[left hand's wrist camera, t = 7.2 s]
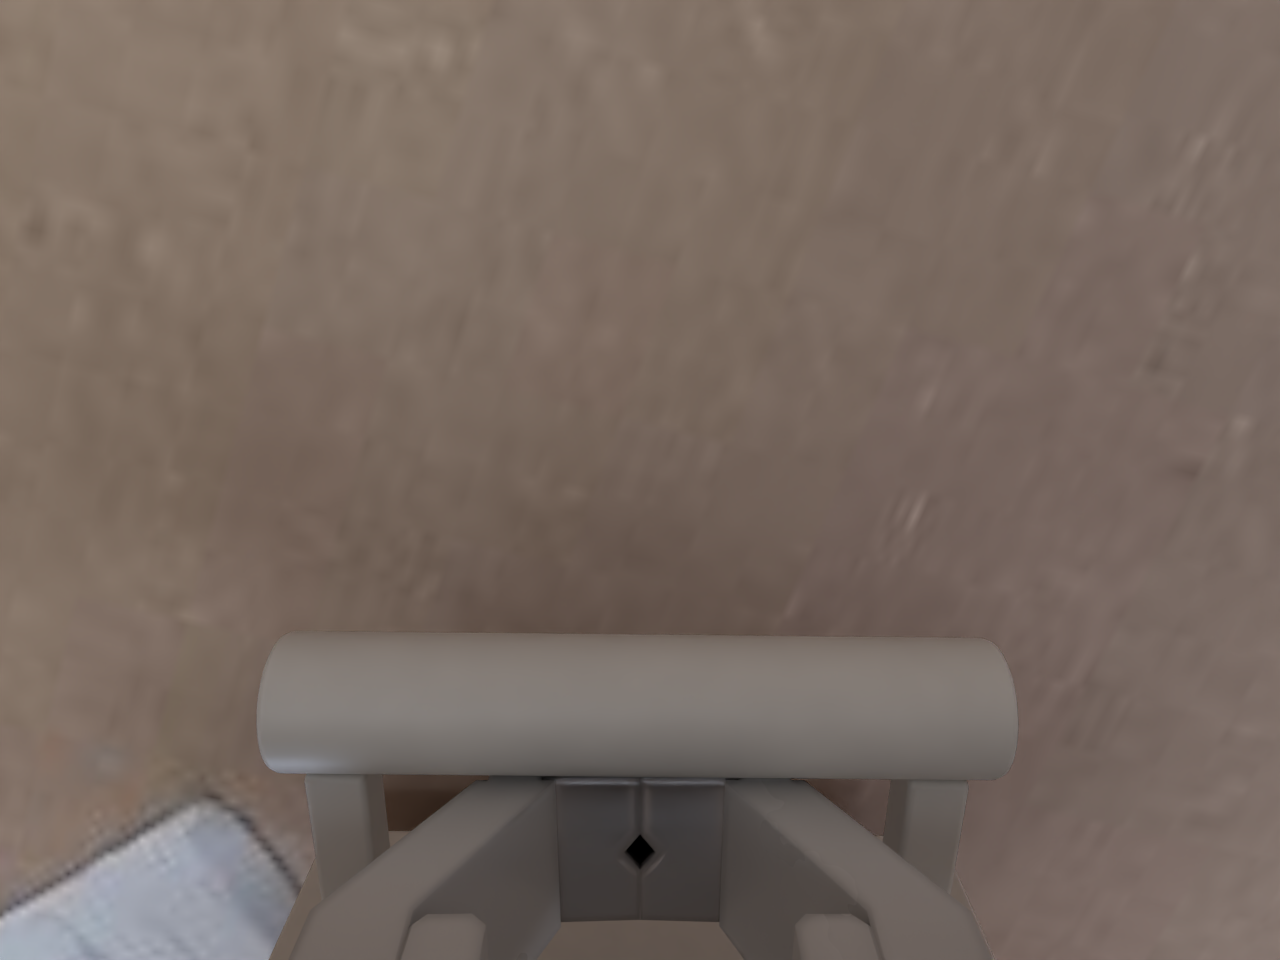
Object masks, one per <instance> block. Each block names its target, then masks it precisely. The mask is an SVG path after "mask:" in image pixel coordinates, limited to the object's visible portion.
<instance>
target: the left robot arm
mask: <svg viewBox="0 0 1280 960" xmlns="http://www.w3.org/2000/svg"><path fill="white" fill-rule="evenodd" d="M619 920H659V921H695V922H719V926H720V928H721V929H722V930H723V932H724V933H725V934H726V936H727V937H728V938H729V940H730V941H731V943H732V944H733V945H734V947H735V948H736V949H737V951H738V952H739V953H740V955H741V956H742V957H743V959H744V960H992V959H991V956H990V954H989V952H988V950H987V947H986V945H985V943H984V940H983V938H982V936H981V933H980V931H979V929H978V927H977V924H976V922H975V920H974V917H973V915H972V913H971V911H970V910H969V909H967V908H966V907H965V906H964V905H962V904H961V903H960V902H958V901H957V900H956V899H955V898H953V897H952V896H951V895H950V894H948V893H947V892H946V891H944V890H943V889H942V888H941V887H939V886H938V885H937V884H936V883H934V882H933V881H932V880H930V879H929V878H928V877H927V876H925V875H924V874H923V873H922V872H920V871H919V870H918V869H917V868H915V867H914V866H913V865H911V864H910V863H909V862H908V861H906V860H905V859H904V858H903V857H901V856H900V855H899V854H897V853H896V852H895V851H894V850H892V849H891V848H890V847H889V846H887V845H886V844H885V843H883V842H882V841H881V840H880V839H878V838H877V837H876V836H875V835H873V834H872V833H871V832H869V831H868V830H867V829H866V828H864V827H863V826H862V825H861V824H859V823H858V822H857V821H855V820H854V819H853V818H852V817H850V816H849V815H848V814H847V813H845V812H844V811H843V810H841V809H840V808H839V807H838V806H836V805H835V804H834V803H833V802H831V801H830V800H829V799H827V798H826V797H825V796H824V795H822V794H821V793H820V792H819V791H817V790H816V789H815V788H813V787H812V786H811V785H810V784H808V783H807V782H806V781H804V780H792V779H791V778H705V777H602V776H499V775H489V779H488V780H476V781H474V782H473V783H472V784H470V785H469V786H468V787H467V788H465V789H464V790H463V791H462V792H460V793H459V794H458V795H456V796H455V797H454V798H453V799H451V800H450V801H449V802H447V803H446V804H445V805H444V806H442V807H441V808H440V809H439V810H437V811H436V812H435V813H433V814H432V815H431V816H430V817H428V818H427V819H426V820H424V821H423V822H422V823H421V824H419V825H418V826H417V827H415V828H414V829H413V830H412V831H410V832H409V833H408V834H407V835H405V836H404V837H403V838H401V839H400V840H399V841H398V842H396V843H395V844H394V845H392V846H391V847H390V848H389V849H387V850H386V851H385V852H384V853H382V854H381V855H380V856H378V857H377V858H376V859H375V860H373V861H372V862H371V863H369V864H368V865H367V866H366V867H364V868H363V869H362V870H361V871H359V872H358V873H357V874H355V875H354V876H353V877H352V878H350V879H349V880H348V881H346V882H345V883H344V884H343V885H341V886H340V887H339V888H338V889H336V890H335V891H334V892H332V893H331V894H330V895H329V896H327V897H326V898H325V899H323V900H322V901H321V902H320V903H318V904H317V905H316V906H315V907H313V908H312V909H311V910H310V912H309V914H308V916H307V919H306V921H305V923H304V925H303V928H302V930H301V932H300V934H299V937H298V939H297V941H296V944H295V946H294V948H293V950H292V953H291V955H290V957H289V959H288V960H537V958H538V957H539V956H540V954H541V953H542V952H543V950H544V949H545V948H546V946H547V945H548V943H549V942H550V941H551V939H552V938H553V937H554V935H555V934H556V933H557V931H558V930H559V929H560V927H561V922H585V921H619Z"/></svg>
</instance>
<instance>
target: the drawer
mask: <svg viewBox="0 0 1280 960" xmlns="http://www.w3.org/2000/svg"><path fill="white" fill-rule="evenodd" d="M1018 724H1019V723H1018V706H1017V698H1016V692H1015V687H1014V683H1013V679H1012V675H1011V672H1010V669H1009V666H1008V664H1007V661H1006V659H1005V657H1004V655H1003V654H1002V652H1001V651H1000V649H999V648H998V647H997V646H996V645H995V644H994V643H993V642H991V641H989V640H986V639H984V638H941V637H845V636H748V635H652V634H555V633H459V632H363V631H292V632H289V633H287V634H285V635H283V636H282V637H281V638H280V639H279V640H278V641H277V642H276V644H275V645H274V647H273V648H272V650H271V652H270V654H269V657H268V659H267V661H266V664H265V667H264V670H263V674H262V678H261V682H260V687H259V693H258V701H257V715H256V726H257V738H258V745H259V749H260V753H261V756H262V758H263V761H264V762H265V764H266V766H267V767H268V768H269V769H271V770H273V771H275V772H277V773H293V774H306V777H305V779H304V780H305V788H306V795H307V802H308V809H309V816H310V823H311V830H312V836H313V843H314V850H315V857H316V858H315V860H314V862H313V864H312V867H311V869H310V871H309V873H308V875H307V877H306V880H305V882H304V884H303V886H302V888H301V890H300V893H299V895H298V897H297V899H296V901H295V904H294V906H293V908H292V910H291V912H290V914H289V917H288V919H287V921H286V923H285V925H284V928H283V930H282V932H281V934H280V936H279V938H278V941H277V943H276V945H275V947H274V949H273V951H272V954H271V956H270V958H269V960H288V959H289V957H290V955H291V953H292V950H293V948H294V946H295V944H296V941H297V939H298V937H299V934H300V932H301V930H302V928H303V925H304V923H305V921H306V919H307V916H308V914H309V912H310V910H311V909H312V908H313V907H315V906H316V905H317V904H318V903H320V902H321V901H322V900H323V899H325V898H326V897H327V896H329V895H330V894H331V893H332V892H334V891H335V890H336V889H338V888H339V887H340V886H341V885H343V884H344V883H345V882H346V881H348V880H349V879H350V878H352V877H353V876H354V875H355V874H357V873H358V872H359V871H361V870H362V869H363V868H364V867H366V866H367V865H368V864H369V863H371V862H372V861H373V860H375V859H376V858H377V857H378V856H380V855H381V854H382V853H384V852H385V851H386V850H387V849H389V848H390V847H391V846H392V845H394V844H395V843H396V842H398V841H399V840H400V839H401V838H403V837H404V836H405V835H407V834H408V833H409V832H410V831H388V822H387V813H386V804H385V795H384V785H383V776H382V774H396V775H499V776H602V777H705V778H807V779H891V783H890V790H889V798H888V805H887V813H886V820H885V828H884V835H883V836H876V837H877V838H878V839H880V840H881V841H882V842H883V843H885V844H886V845H887V846H889V847H890V848H891V849H892V850H894V851H895V852H896V853H897V854H899V855H900V856H901V857H903V858H904V859H905V860H906V861H908V862H909V863H910V864H911V865H913V866H914V867H915V868H917V869H918V870H919V871H920V872H922V873H923V874H924V875H925V876H927V877H928V878H929V879H930V880H932V881H933V882H934V883H936V884H937V885H938V886H939V887H941V888H942V889H943V890H944V891H946V892H947V893H948V894H950V895H951V896H952V897H953V898H955V899H956V900H957V901H958V902H960V903H961V904H962V905H964V906H965V907H966V908H967V909H969V910H970V911H971V913H972V915H973V917H974V920H975V922H976V924H977V927H978V929H979V931H980V933H981V936H982V938H983V940H984V943H985V945H986V947H987V950H988V952H989V954H990V956H991V959H992V960H995V958H994V956H993V954H992V952H991V949H990V947H989V945H988V942H987V940H986V938H985V936H984V933H983V931H982V929H981V926H980V924H979V922H978V920H977V917H976V915H975V913H974V911H973V908H972V906H971V904H970V901H969V899H968V897H967V895H966V892H965V890H964V888H963V885H962V883H961V881H960V879H959V876H958V874H957V872H956V870H955V865H956V859H957V853H958V847H959V842H960V836H961V830H962V824H963V818H964V812H965V807H966V801H967V795H968V789H969V785H968V782H967V780H996V779H998V778H1001V777H1003V776H1004V775H1005V774H1006V773H1007V772H1008V771H1009V769H1010V768H1011V766H1012V763H1013V760H1014V757H1015V753H1016V749H1017V742H1018ZM537 960H744V959H743V957H742V956H741V955H740V953H739V952H738V951H737V949H736V948H735V947H734V945H733V944H732V943H731V941H730V940H729V938H728V937H727V936H726V934H725V933H724V932H723V930H722V929H721V928H720V926H719V922H695V921H659V920H619V921H585V922H561V927H560V929H559V930H558V931H557V933H556V934H555V935H554V937H553V938H552V939H551V941H550V942H549V943H548V945H547V946H546V948H545V949H544V950H543V952H542V953H541V954H540V956H539V957H538V958H537Z"/></svg>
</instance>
